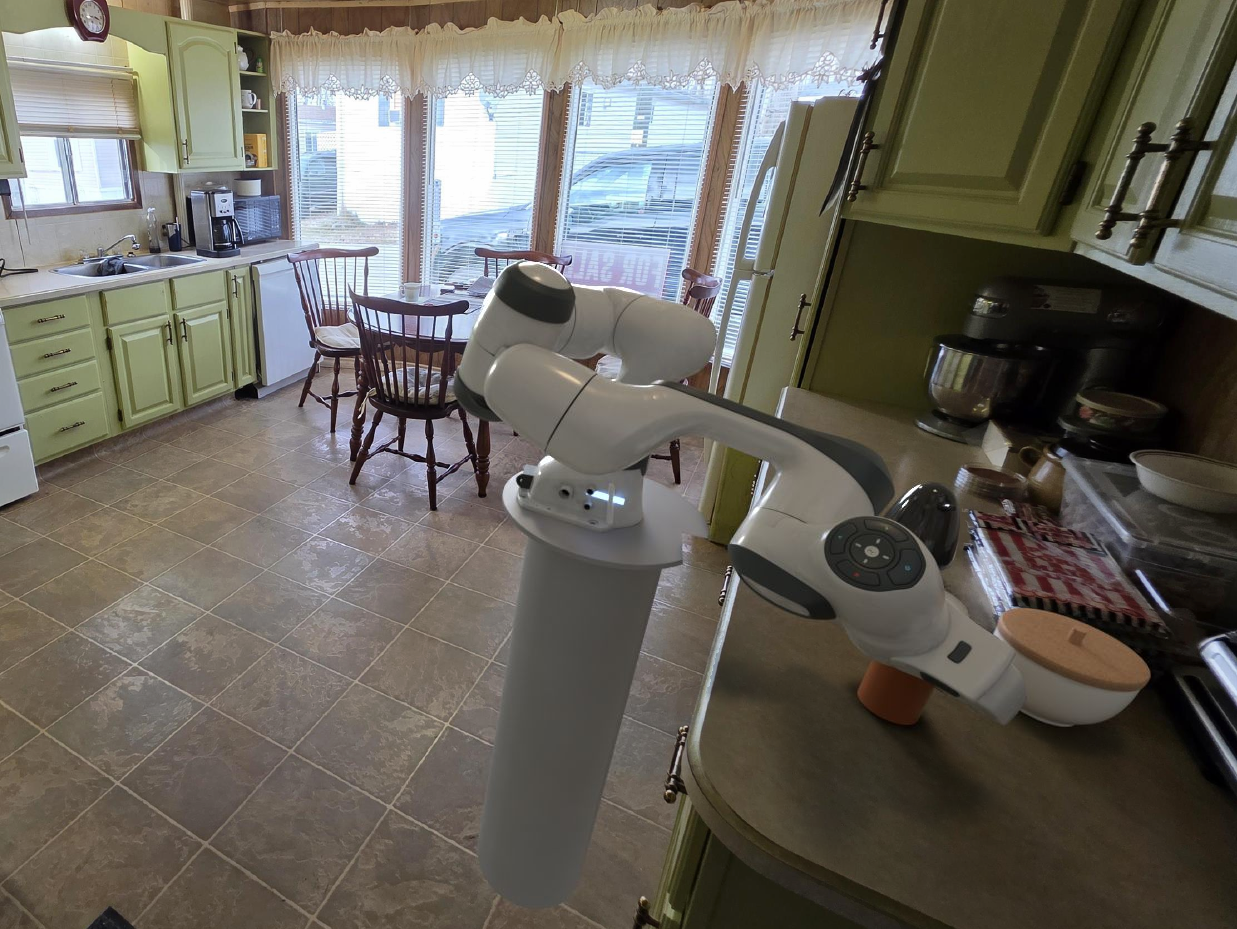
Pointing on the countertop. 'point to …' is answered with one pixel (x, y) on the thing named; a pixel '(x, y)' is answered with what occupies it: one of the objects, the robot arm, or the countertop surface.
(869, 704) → the jar
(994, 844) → the countertop surface
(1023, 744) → the countertop surface
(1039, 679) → the lidded bowl
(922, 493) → the glossy black oval piece
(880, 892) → the countertop surface
